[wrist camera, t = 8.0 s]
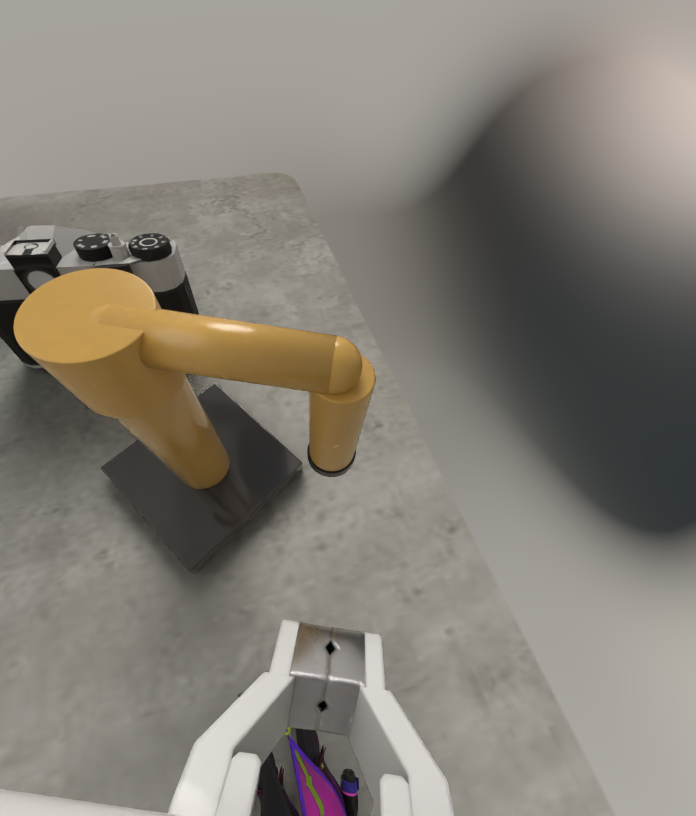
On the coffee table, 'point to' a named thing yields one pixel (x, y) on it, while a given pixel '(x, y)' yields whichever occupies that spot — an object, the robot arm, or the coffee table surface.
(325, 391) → the spout
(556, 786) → the coffee table surface
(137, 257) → the camera
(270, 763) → the character figure
